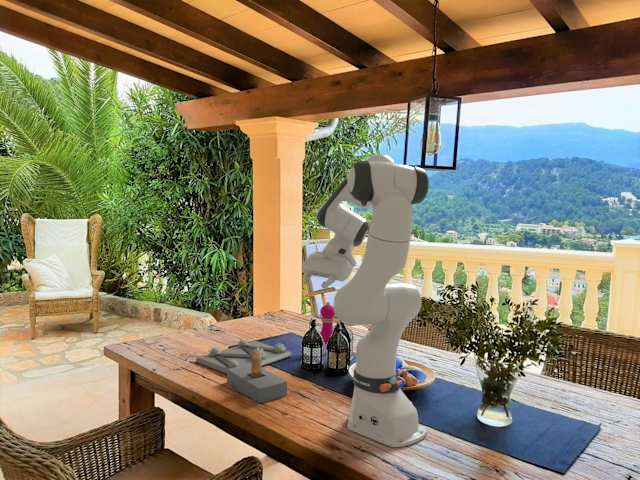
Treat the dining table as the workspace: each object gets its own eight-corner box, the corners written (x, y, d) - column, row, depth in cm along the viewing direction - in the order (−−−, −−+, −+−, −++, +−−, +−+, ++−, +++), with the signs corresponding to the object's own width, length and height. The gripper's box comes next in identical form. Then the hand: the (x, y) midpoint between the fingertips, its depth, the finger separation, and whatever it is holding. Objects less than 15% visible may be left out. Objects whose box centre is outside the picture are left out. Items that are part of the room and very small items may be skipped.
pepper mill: (334, 354, 198) (335, 304, 196) (315, 352, 199) (317, 302, 197) (337, 348, 205) (338, 300, 203) (319, 347, 206) (321, 298, 204)
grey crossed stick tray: (255, 345, 208) (255, 328, 207) (293, 358, 194) (293, 340, 193) (193, 363, 185) (194, 344, 184) (232, 379, 171) (232, 358, 170)
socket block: (286, 395, 158) (287, 381, 157) (259, 403, 151) (259, 388, 151) (253, 375, 173) (253, 363, 173) (227, 382, 167) (227, 369, 166)
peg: (263, 389, 162) (263, 352, 161) (254, 391, 160) (255, 354, 159) (257, 386, 164) (258, 350, 163) (249, 388, 162) (249, 351, 161)
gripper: (310, 245, 184) (289, 275, 179) (352, 252, 170) (330, 284, 164) (319, 257, 188) (298, 286, 182) (360, 264, 173) (339, 295, 168)
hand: (314, 285), depth 173 cm, fingers open, 8 cm apart
